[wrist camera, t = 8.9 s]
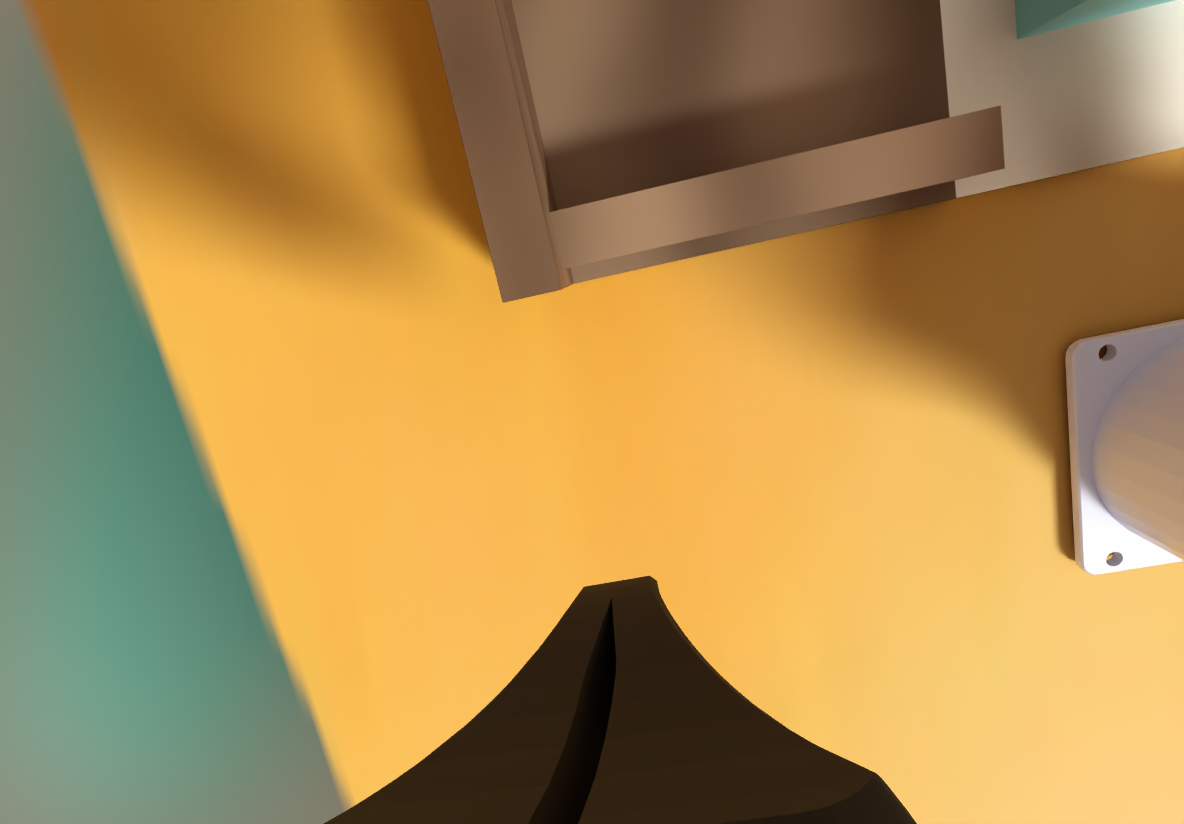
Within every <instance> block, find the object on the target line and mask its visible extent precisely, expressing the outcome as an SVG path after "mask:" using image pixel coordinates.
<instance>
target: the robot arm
mask: <svg viewBox="0 0 1184 824" xmlns="http://www.w3.org/2000/svg"><path fill="white" fill-rule="evenodd" d="M1105 345H1106V346H1107V353H1106V355H1105V356H1104V357H1103V358H1101V359H1100V358H1099V355H1098V354H1099V350H1100V349H1101V348H1102V347H1103V346H1105ZM1065 360H1066V381H1067V402H1068V422H1069V443H1070V464H1071V485H1072V505H1073V526H1074V547H1075V561H1076V564H1077V565H1078V566H1079V567H1080V568H1081V569H1082V570H1084V571H1085V572H1087V573H1089V574H1104V573H1110V572H1117V571H1123V570H1129V569H1136V568H1142V567H1148V566H1155V565H1161V564H1167V563H1174V562H1180V561H1184V319H1180V320H1175V321H1170V322H1165V323H1160V324H1155V325H1149V326H1144V327H1139V328H1134V329H1129V330H1124V331H1119V332H1114V333H1109V334H1104V335H1099V336H1093V337H1088V338H1083V339H1080V340H1077V341H1075V342H1074V343H1073V344H1071V345H1070V346H1069V348H1068V350H1067V351H1066V357H1065ZM1112 552H1114V554H1113V557H1112V558H1111V559H1109V560H1107V561H1106V558H1107V556H1108V555H1109V554H1110V553H1112ZM324 824H917V823H916V822H915V821H914V819H913V818H912V816H911V815H910V814H909V812H908V811H907V810H906V808H905V807H904V806H903V805H902V803H901V802H900V801H899V799H898V798H897V797H896V796H895V794H894V793H893V792H892V791H891V789H890V788H889V787H888V786H887V784H886V783H885V782H884V781H883V779H882V778H881V777H880V776H879V775H877V774H876V773H874V772H872V771H870V770H868V769H866V768H864V767H862V766H859V765H857V764H855V763H853V762H851V761H849V760H847V759H844V758H842V757H840V756H838V755H836V754H834V753H831V752H829V751H827V750H825V749H823V748H821V747H819V746H817V745H815V744H813V743H811V742H809V741H808V740H806V739H804V738H803V737H801V736H799V735H797V734H796V733H794V732H792V731H791V730H789V729H788V728H786V727H785V726H783V725H782V724H781V723H779V722H778V721H776V720H775V719H773V718H772V717H771V716H769V715H768V714H766V713H765V712H764V711H762V710H761V709H759V708H758V707H756V706H755V705H754V704H753V703H751V702H750V701H749V700H748V699H747V698H745V697H744V696H743V695H742V694H741V693H739V692H738V691H737V690H736V689H735V688H734V687H733V686H731V685H730V684H729V683H728V682H727V681H726V680H725V679H724V678H723V677H722V676H721V675H720V674H719V673H718V672H717V671H716V670H715V669H714V668H713V667H712V666H711V665H710V664H709V663H708V662H707V661H706V660H705V659H704V657H703V656H702V655H701V654H700V653H699V652H698V650H697V649H696V648H695V647H694V646H693V645H692V643H691V642H690V641H689V639H688V638H687V637H686V636H685V634H684V633H683V631H682V630H681V629H680V627H679V626H678V624H677V623H676V621H675V620H674V619H673V617H672V615H671V614H670V612H669V611H668V609H667V607H666V605H665V603H664V602H663V600H662V598H661V595H660V593H659V589H658V584H657V581H656V580H655V579H654V578H652V577H651V576H645V577H639V578H634V579H628V580H622V581H616V582H610V583H604V584H598V585H592V586H587V587H584V588H583V589H582V590H581V592H580V593H579V594H578V596H577V597H576V598H575V600H574V601H573V603H572V604H571V605H570V607H569V608H568V610H567V611H566V612H565V614H564V615H563V617H562V618H561V619H560V621H559V622H558V624H557V625H556V626H555V628H554V629H553V630H552V632H551V633H550V634H549V636H548V637H547V638H546V640H545V641H544V642H543V644H542V645H541V646H540V648H539V649H538V650H537V651H536V652H535V654H534V655H533V656H532V657H531V658H530V659H529V661H528V662H527V663H526V664H525V665H524V667H523V668H522V669H521V670H520V671H519V672H518V674H517V675H516V676H515V677H514V678H513V679H512V681H511V682H510V683H509V684H508V685H507V686H506V687H505V688H504V689H503V690H502V691H501V692H500V693H499V694H498V695H497V696H496V697H495V698H494V699H493V700H492V701H491V702H490V703H489V704H488V705H487V706H486V707H485V708H484V709H483V710H482V711H481V712H480V713H479V714H478V715H476V716H475V717H474V718H473V719H472V720H471V721H470V722H469V723H468V724H467V725H465V726H464V727H463V728H462V729H461V730H459V731H458V732H457V733H456V734H454V735H453V736H452V737H451V738H449V739H448V740H447V741H446V742H444V743H443V744H442V745H441V746H439V747H438V748H437V749H436V750H434V751H433V752H432V753H431V754H429V755H428V756H427V757H426V758H425V759H423V760H422V761H421V762H419V763H418V764H417V765H415V766H414V767H412V768H411V769H410V770H408V771H407V772H405V773H404V774H402V775H401V776H400V777H398V778H397V779H395V780H394V781H392V782H391V783H389V784H388V785H386V786H385V787H383V788H382V789H380V790H379V791H377V792H376V793H374V794H373V795H371V796H369V797H368V798H366V799H365V800H363V801H362V802H360V803H358V804H357V805H355V806H354V807H352V808H350V809H349V810H347V811H345V812H344V813H342V814H340V815H338V816H337V817H335V818H333V819H331V820H329V821H328V822H326V823H324Z"/></svg>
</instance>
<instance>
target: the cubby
mask: <svg viewBox="0 0 1184 824" xmlns="http://www.w3.org/2000/svg"><path fill="white" fill-rule="evenodd" d="M428 4H429V8H430V12H431V16H432V20H433V24H434V28H435V32H436V36H437V40H438V44H439V48H440V53H441V57H442V61H443V65H444V69H445V73H446V77H447V81H448V85H449V89H450V93H451V97H452V101H453V105H454V109H455V113H456V117H457V121H458V125H459V129H460V133H461V137H462V141H463V145H464V149H465V153H466V157H467V161H468V165H469V169H470V173H471V177H472V181H473V185H474V189H475V193H476V197H477V201H478V205H479V209H480V213H481V217H482V221H483V225H484V229H485V233H486V237H487V241H488V245H489V249H490V253H491V257H492V261H493V265H494V270H495V274H496V278H497V282H498V286H499V290H500V294H501V298H502V302H503V303H504V302H508V301H513V300H517V299H522V298H526V297H531V296H535V295H540V294H544V293H548V292H553V291H557V290H561V289H563V288H565V287H568V286H570V285H572V284H574V283H578V282H583V281H587V280H592V279H596V278H601V277H605V276H610V275H614V274H619V273H623V272H628V271H632V270H637V269H641V268H646V267H650V266H655V265H659V264H663V263H668V262H672V261H677V260H681V259H686V258H690V257H695V256H699V255H704V254H708V253H713V252H717V251H722V250H726V249H731V248H735V247H740V246H744V245H749V244H753V243H757V242H762V241H766V240H771V239H775V238H780V237H784V236H789V235H793V234H798V233H802V232H807V231H811V230H816V229H820V228H825V227H829V226H834V225H838V224H843V223H847V222H851V221H856V220H860V219H865V218H869V217H874V216H878V215H883V214H887V213H892V212H896V211H901V210H905V209H910V208H914V207H919V206H923V205H928V204H932V203H937V202H941V201H945V200H950V199H954V198H959V197H963V196H968V195H972V194H977V193H981V192H986V191H990V190H995V189H999V188H1004V187H1008V186H1013V185H1017V184H1022V183H1026V182H1031V181H1035V180H1040V179H1044V178H1048V177H1053V176H1057V175H1062V174H1066V173H1071V172H1075V171H1080V170H1084V169H1089V168H1093V167H1098V166H1102V165H1107V164H1111V163H1116V162H1120V161H1125V160H1129V159H1134V158H1138V157H1142V156H1147V155H1151V154H1156V153H1160V152H1165V151H1169V150H1174V149H1178V148H1183V147H1184V0H1174V1H1170V2H1166V3H1162V4H1158V5H1154V6H1150V7H1146V8H1142V9H1138V10H1134V11H1130V12H1126V13H1122V14H1118V15H1114V16H1110V17H1106V18H1102V19H1098V20H1094V21H1090V22H1086V23H1082V24H1078V25H1074V26H1070V27H1066V28H1062V29H1057V30H1053V31H1049V32H1045V33H1041V34H1037V35H1033V36H1029V37H1025V38H1021V39H1017V30H1016V14H1015V0H428Z"/></svg>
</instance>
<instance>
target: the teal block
mask: <svg viewBox="0 0 1184 824" xmlns="http://www.w3.org/2000/svg"><path fill="white" fill-rule="evenodd" d="M1170 1H1174V0H1015V14H1016V30H1017V39H1021V38H1025V37H1029V36H1033V35H1037V34H1041V33H1045V32H1049V31H1053V30H1057V29H1062V28H1066V27H1070V26H1074V25H1078V24H1082V23H1086V22H1090V21H1094V20H1098V19H1102V18H1106V17H1110V16H1114V15H1118V14H1122V13H1126V12H1130V11H1134V10H1138V9H1142V8H1146V7H1150V6H1154V5H1158V4H1162V3H1166V2H1170Z"/></svg>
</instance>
